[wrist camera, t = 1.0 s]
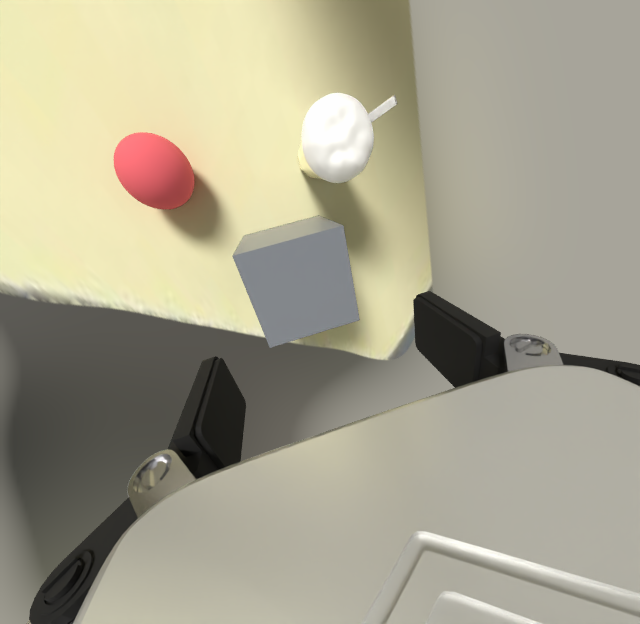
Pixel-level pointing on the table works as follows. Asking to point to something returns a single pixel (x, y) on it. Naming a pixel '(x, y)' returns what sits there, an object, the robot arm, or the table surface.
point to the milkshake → (338, 137)
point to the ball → (154, 170)
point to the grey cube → (298, 278)
